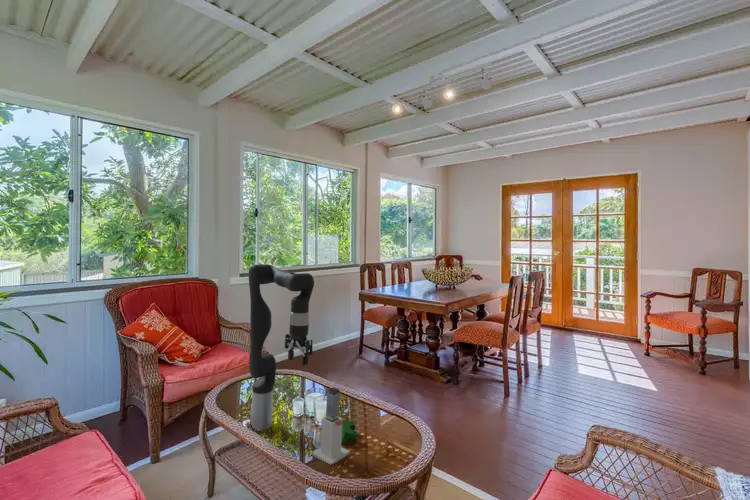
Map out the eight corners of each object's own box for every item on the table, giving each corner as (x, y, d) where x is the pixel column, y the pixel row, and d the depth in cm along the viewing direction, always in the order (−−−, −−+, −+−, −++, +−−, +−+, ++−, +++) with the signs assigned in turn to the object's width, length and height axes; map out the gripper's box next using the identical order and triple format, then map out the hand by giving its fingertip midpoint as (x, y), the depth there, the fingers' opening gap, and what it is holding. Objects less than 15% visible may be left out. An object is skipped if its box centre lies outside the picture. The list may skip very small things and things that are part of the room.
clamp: (351, 452, 161) (358, 438, 157) (338, 450, 159) (345, 436, 156) (351, 428, 172) (357, 415, 168) (338, 426, 170) (345, 412, 167)
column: (324, 437, 151) (326, 389, 150) (331, 433, 154) (333, 387, 153) (331, 440, 148) (333, 392, 148) (337, 437, 151) (340, 389, 151)
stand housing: (311, 454, 150) (313, 418, 150) (330, 443, 159) (332, 409, 158) (330, 466, 144) (332, 428, 143) (349, 453, 152) (351, 418, 152)
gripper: (280, 321, 149) (279, 360, 150) (304, 327, 141) (302, 369, 141) (295, 318, 155) (293, 356, 156) (318, 324, 147) (316, 364, 147)
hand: (297, 362), depth 149 cm, fingers open, 8 cm apart
